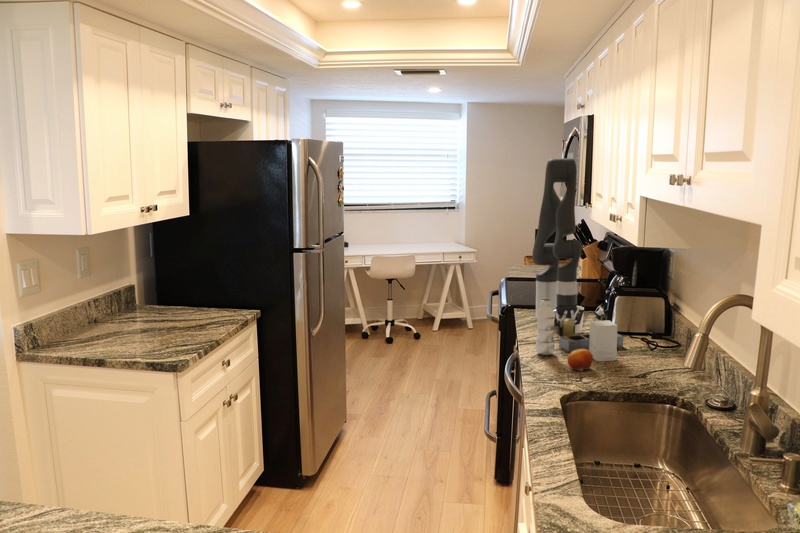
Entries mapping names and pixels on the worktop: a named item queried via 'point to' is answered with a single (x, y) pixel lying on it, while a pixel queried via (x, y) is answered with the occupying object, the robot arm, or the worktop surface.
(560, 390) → the worktop surface
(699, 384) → the worktop surface
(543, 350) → the plastic bottle
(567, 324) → the pale yellow block
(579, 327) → the white cup
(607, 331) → the supplement box
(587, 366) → the fruit
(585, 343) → the gray compartment tray
